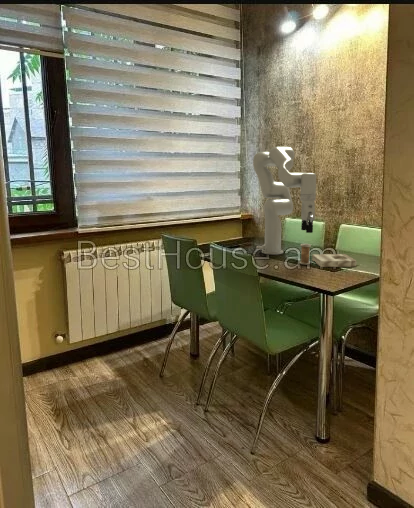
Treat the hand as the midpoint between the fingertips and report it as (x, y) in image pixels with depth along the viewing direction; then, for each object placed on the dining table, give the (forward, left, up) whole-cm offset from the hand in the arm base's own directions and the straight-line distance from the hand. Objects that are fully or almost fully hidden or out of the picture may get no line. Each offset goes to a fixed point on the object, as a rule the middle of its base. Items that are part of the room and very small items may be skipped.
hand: (306, 231), depth 210 cm
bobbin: (0, 0, -17) cm, 17 cm away
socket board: (+15, 0, -17) cm, 23 cm away
